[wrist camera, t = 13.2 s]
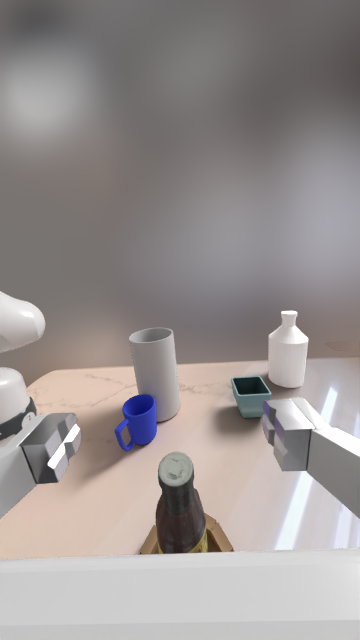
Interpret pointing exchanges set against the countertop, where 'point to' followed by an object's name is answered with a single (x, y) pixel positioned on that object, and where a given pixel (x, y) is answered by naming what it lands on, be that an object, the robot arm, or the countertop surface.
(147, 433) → the mug
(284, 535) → the countertop surface
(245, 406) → the flower pot
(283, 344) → the bottle
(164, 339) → the cylinder vase
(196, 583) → the robot arm
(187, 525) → the sauce bottle
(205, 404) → the countertop surface
